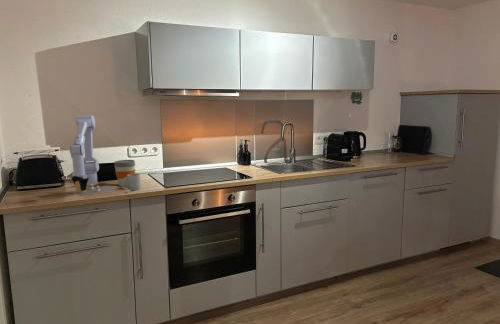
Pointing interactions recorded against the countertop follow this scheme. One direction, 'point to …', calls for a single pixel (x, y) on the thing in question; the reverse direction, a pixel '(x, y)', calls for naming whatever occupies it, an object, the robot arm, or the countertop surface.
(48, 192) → the countertop surface
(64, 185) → the countertop surface
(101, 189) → the board
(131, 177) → the cup
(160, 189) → the countertop surface
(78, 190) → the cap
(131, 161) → the reusable coffee cup
